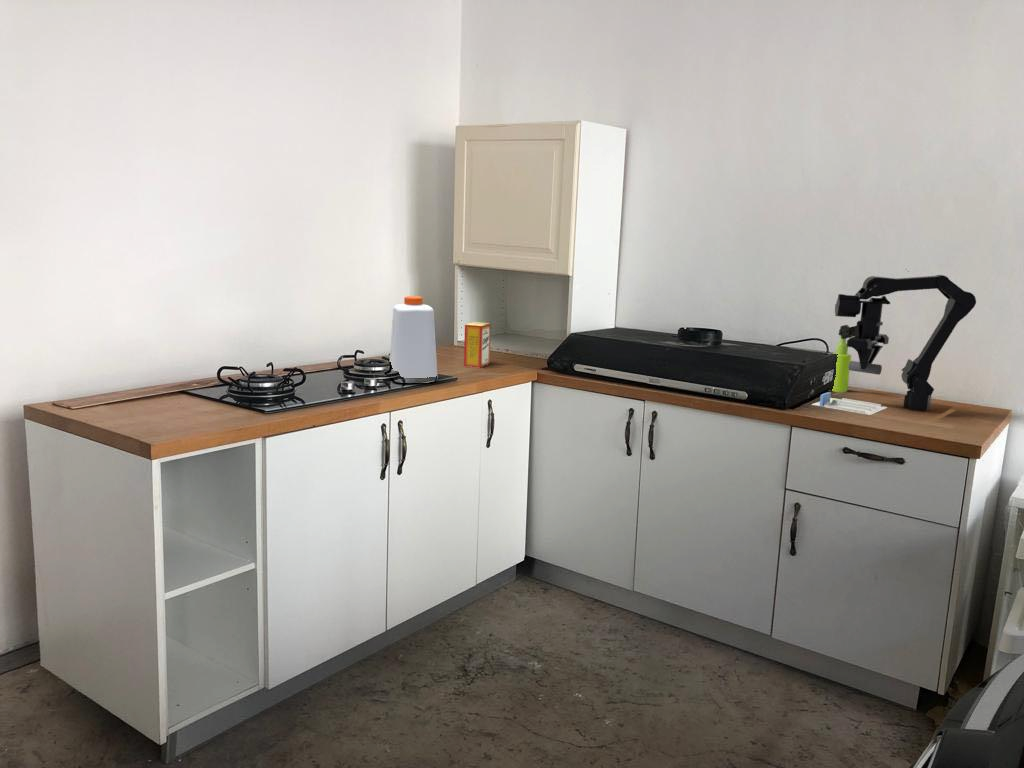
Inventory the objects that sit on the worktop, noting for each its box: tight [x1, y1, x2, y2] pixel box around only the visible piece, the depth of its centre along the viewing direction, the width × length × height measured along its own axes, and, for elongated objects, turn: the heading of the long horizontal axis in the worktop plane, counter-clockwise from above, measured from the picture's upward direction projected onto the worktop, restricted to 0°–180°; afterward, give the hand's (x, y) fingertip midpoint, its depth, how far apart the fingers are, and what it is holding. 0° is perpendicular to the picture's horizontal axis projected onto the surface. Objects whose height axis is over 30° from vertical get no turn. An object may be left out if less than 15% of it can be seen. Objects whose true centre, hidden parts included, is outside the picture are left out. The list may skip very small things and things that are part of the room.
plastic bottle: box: [389, 295, 438, 378], centre depth 286 cm, size 15×15×28 cm
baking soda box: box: [463, 321, 492, 368], centre depth 318 cm, size 10×6×16 cm
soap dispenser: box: [831, 334, 855, 393], centre depth 287 cm, size 6×7×20 cm
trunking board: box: [811, 391, 888, 416], centre depth 264 cm, size 18×15×4 cm
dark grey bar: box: [848, 360, 883, 375], centre depth 264 cm, size 9×3×3 cm, turn 48°
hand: (864, 368), depth 264 cm, fingers closed on dark grey bar, 3 cm apart
